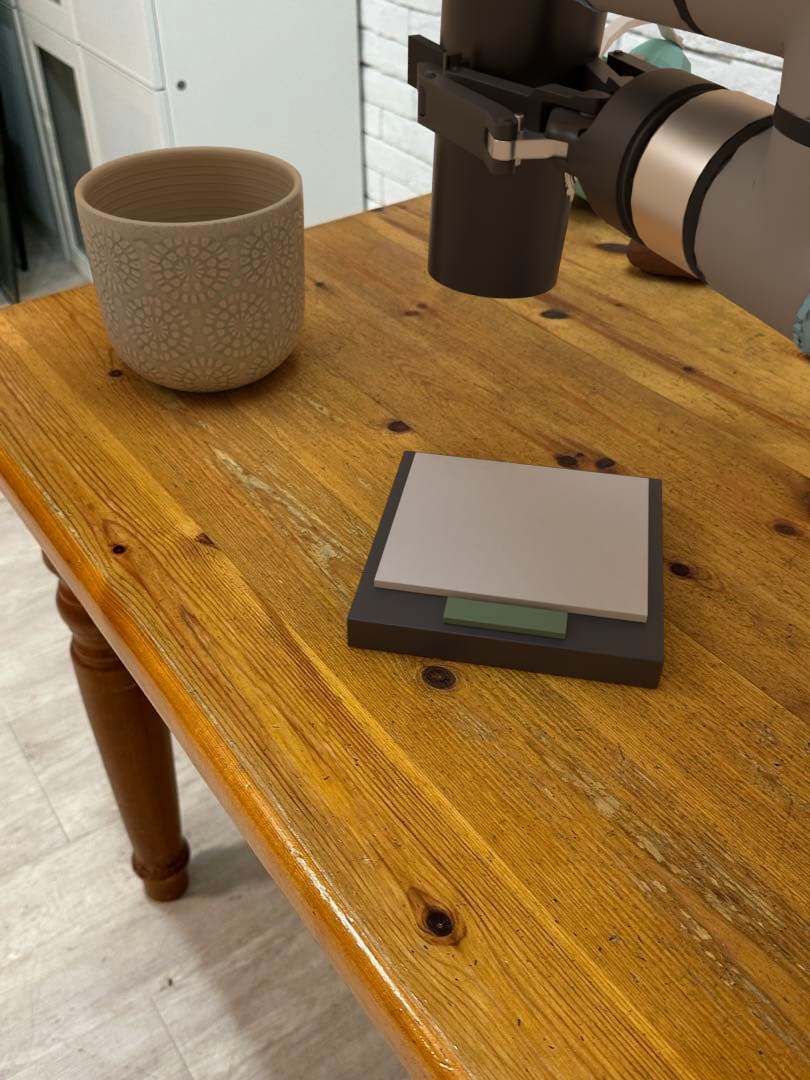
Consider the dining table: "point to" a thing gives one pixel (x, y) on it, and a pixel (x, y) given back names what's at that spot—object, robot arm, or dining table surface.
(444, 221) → the water bottle
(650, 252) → the potato
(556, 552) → the scale
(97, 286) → the planter
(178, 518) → the dining table surface
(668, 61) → the alarm clock
